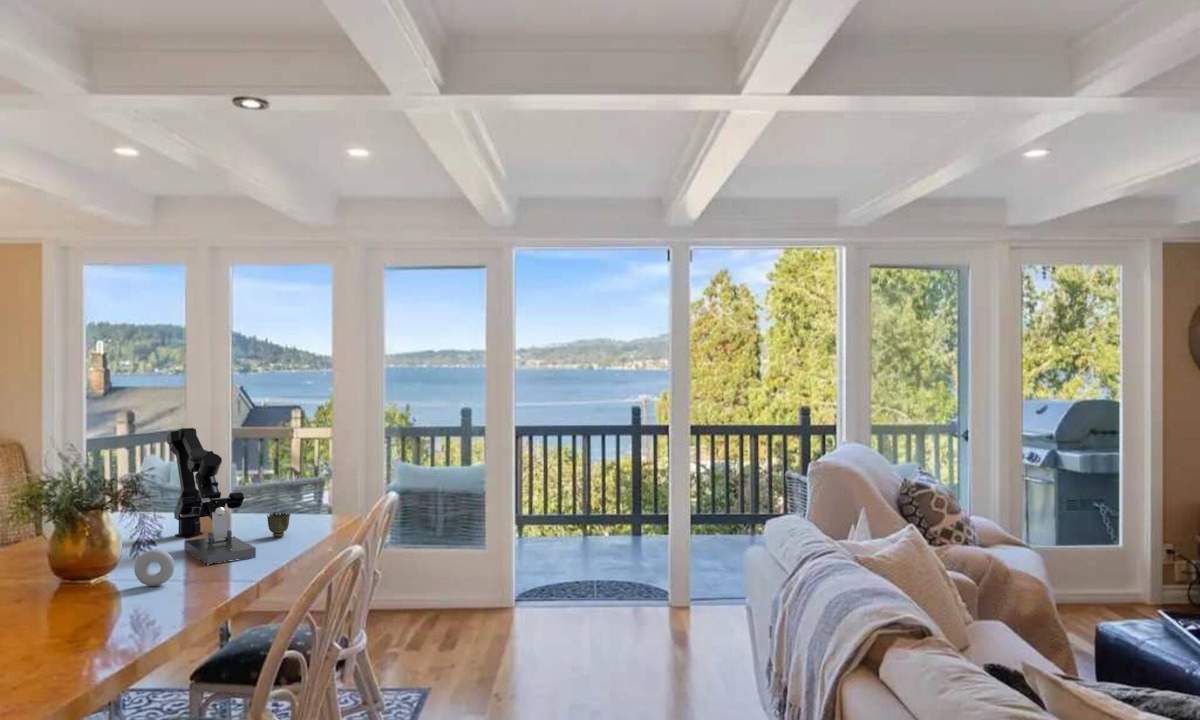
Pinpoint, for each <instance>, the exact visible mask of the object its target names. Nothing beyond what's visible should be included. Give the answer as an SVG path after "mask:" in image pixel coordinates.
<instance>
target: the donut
mask: <svg viewBox="0 0 1200 720" xmlns="http://www.w3.org/2000/svg"><path fill="white" fill-rule="evenodd" d="M152 563H157V564H158V565H159V566H160V570H159V571H158V572H157V573H154V572H151V570H150V569H149V567H150V565H151V564H152ZM174 573H175V561H174V559H173V557H172V556H171V555H170V554H169V553H168V552H167V551H166V550H165V551H164V549H163V550H162V549H156V548H155V549H151V550H147V551H144V552H143V553H142V554H141V555H140V556H139V557H138V558H137V559H136V561H135V563H134V575H135V577H136V579H137V580H138V582H140V583H141V584H143V585H146V586H148V587H156V586H161V585H162V584H163V585H164V584H165V583H167V582H168V580H170V579H171V577H173V574H174Z"/></svg>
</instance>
